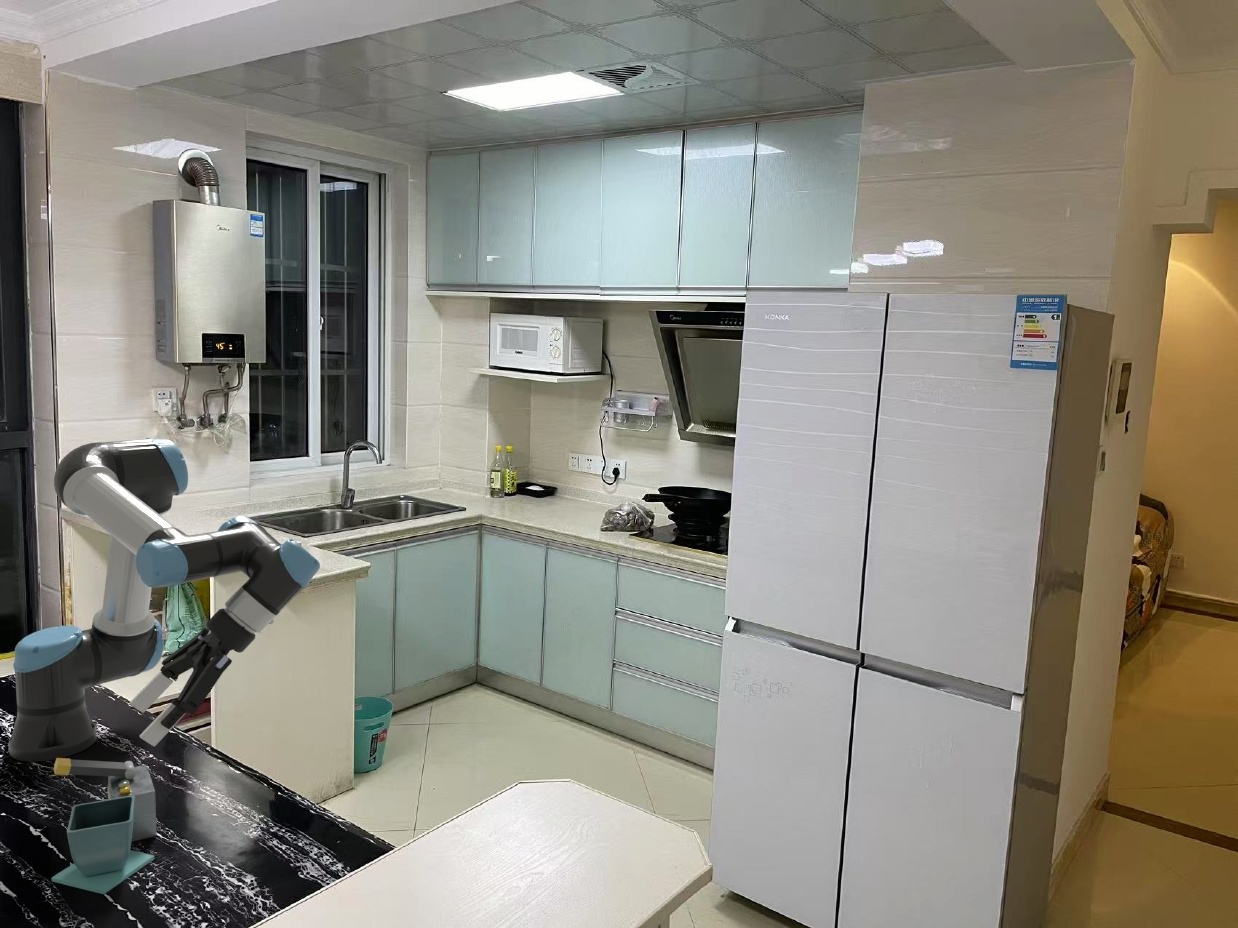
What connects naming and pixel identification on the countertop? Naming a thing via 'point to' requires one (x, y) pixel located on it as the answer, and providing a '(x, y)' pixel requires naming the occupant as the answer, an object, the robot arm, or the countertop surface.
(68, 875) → the pad
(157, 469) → the robot arm
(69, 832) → the flower pot
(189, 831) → the countertop surface
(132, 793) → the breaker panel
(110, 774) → the lever
